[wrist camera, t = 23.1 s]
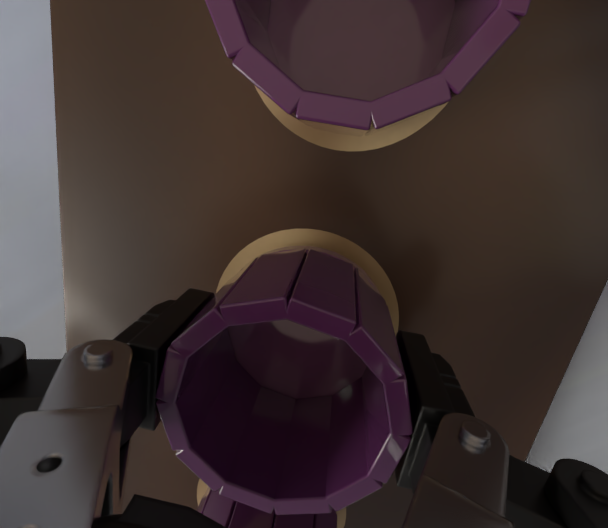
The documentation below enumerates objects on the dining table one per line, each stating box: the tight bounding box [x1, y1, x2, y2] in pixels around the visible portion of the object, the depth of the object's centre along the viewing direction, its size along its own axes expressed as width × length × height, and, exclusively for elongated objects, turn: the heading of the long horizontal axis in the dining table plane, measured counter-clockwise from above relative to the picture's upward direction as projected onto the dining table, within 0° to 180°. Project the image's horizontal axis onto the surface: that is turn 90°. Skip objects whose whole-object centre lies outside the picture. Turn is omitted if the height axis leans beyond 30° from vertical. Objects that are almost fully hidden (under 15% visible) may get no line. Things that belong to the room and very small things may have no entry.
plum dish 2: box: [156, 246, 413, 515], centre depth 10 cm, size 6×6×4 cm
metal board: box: [50, 0, 608, 528], centre depth 13 cm, size 18×26×1 cm
